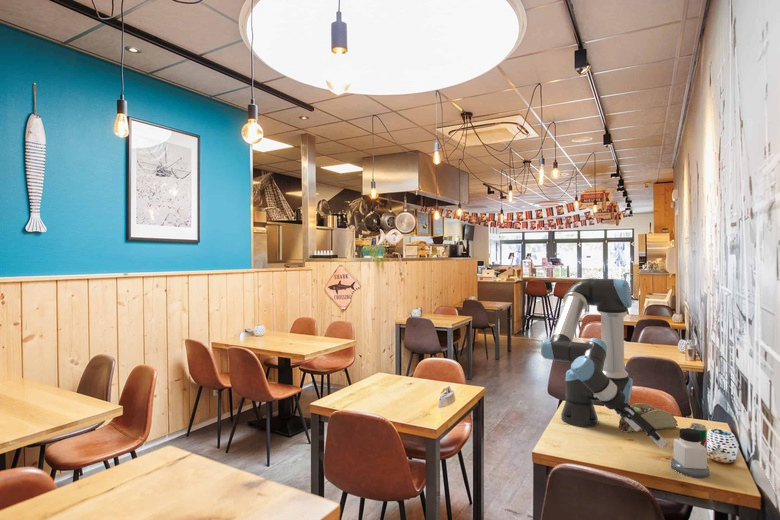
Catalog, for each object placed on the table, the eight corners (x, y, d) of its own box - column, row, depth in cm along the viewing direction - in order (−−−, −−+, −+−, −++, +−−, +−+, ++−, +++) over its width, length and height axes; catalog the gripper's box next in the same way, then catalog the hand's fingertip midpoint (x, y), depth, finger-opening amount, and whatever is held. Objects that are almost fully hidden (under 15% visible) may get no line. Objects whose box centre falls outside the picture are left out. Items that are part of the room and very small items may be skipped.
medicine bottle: (707, 469, 146) (707, 433, 146) (684, 468, 147) (685, 433, 147) (694, 459, 154) (694, 425, 154) (673, 458, 154) (673, 424, 154)
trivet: (667, 460, 157) (667, 455, 157) (702, 465, 154) (702, 459, 154) (676, 474, 147) (676, 468, 147) (714, 480, 143) (714, 473, 143)
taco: (613, 427, 189) (613, 404, 189) (664, 422, 195) (664, 400, 195) (630, 436, 180) (630, 411, 180) (683, 431, 186) (683, 407, 186)
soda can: (703, 456, 161) (704, 423, 161) (708, 462, 157) (709, 428, 157) (687, 454, 163) (688, 421, 163) (692, 459, 158) (692, 426, 158)
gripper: (583, 390, 163) (622, 429, 164) (621, 414, 138) (667, 461, 139) (597, 376, 163) (636, 415, 164) (638, 397, 139) (683, 444, 139)
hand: (650, 436), depth 152 cm, fingers open, 13 cm apart
